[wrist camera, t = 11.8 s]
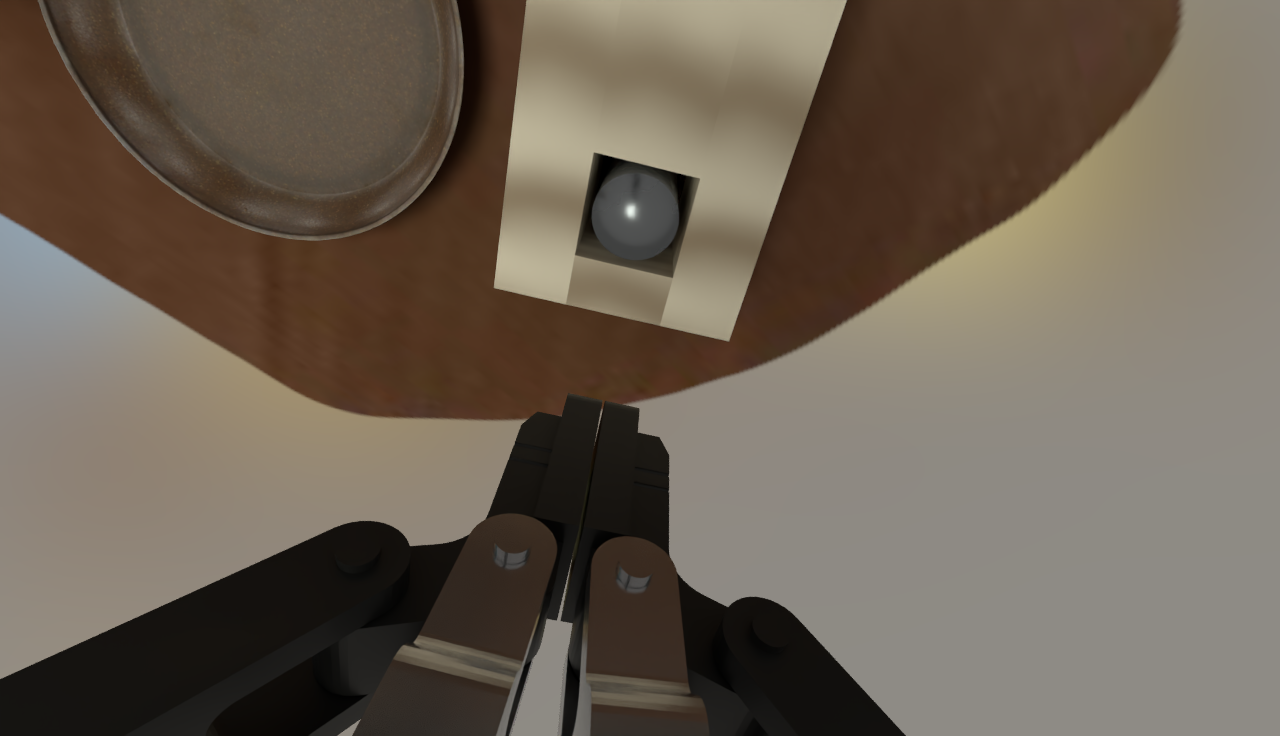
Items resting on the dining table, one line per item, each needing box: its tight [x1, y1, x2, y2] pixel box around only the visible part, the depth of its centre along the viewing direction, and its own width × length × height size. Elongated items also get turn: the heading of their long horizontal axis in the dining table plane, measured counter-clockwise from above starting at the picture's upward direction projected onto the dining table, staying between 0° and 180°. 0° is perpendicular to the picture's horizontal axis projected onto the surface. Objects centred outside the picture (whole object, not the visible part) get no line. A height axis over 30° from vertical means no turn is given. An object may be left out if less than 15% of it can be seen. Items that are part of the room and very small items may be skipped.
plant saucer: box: [38, 0, 464, 240], centre depth 30 cm, size 21×21×3 cm
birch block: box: [494, 0, 847, 341], centre depth 28 cm, size 22×12×8 cm, turn 167°
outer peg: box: [592, 157, 679, 260], centre depth 30 cm, size 4×4×8 cm
